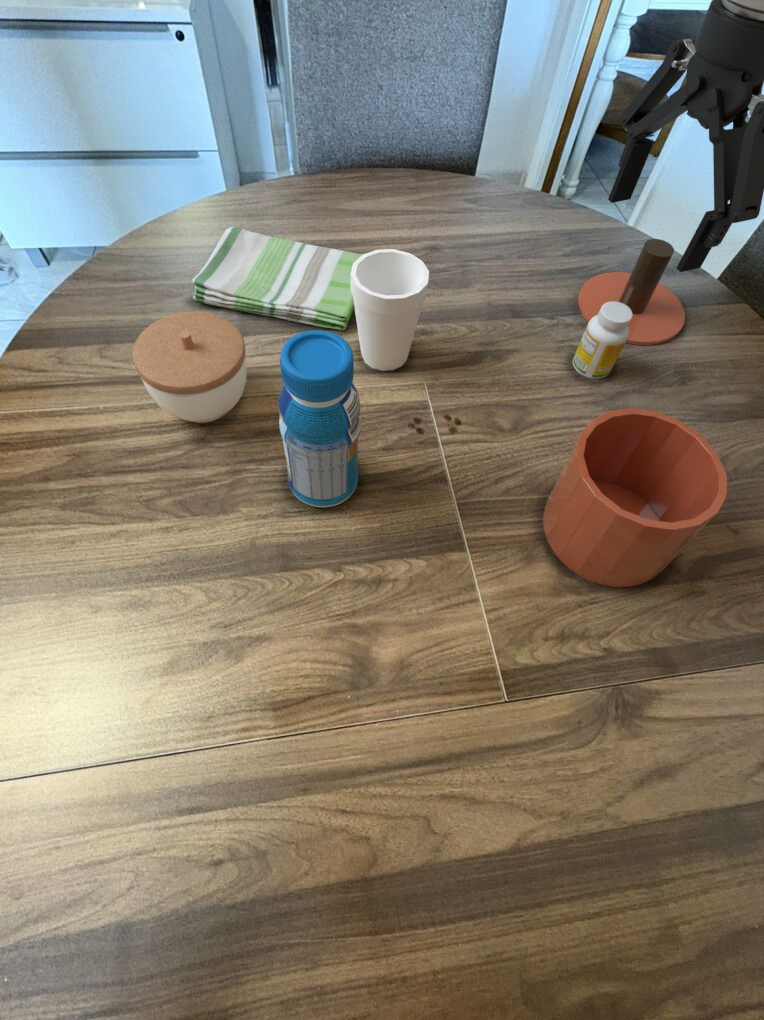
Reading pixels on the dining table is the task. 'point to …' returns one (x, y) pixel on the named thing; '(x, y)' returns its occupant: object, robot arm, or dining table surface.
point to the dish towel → (278, 279)
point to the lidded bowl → (192, 365)
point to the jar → (632, 496)
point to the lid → (639, 296)
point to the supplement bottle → (603, 340)
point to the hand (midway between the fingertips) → (651, 232)
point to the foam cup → (387, 304)
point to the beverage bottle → (319, 417)
